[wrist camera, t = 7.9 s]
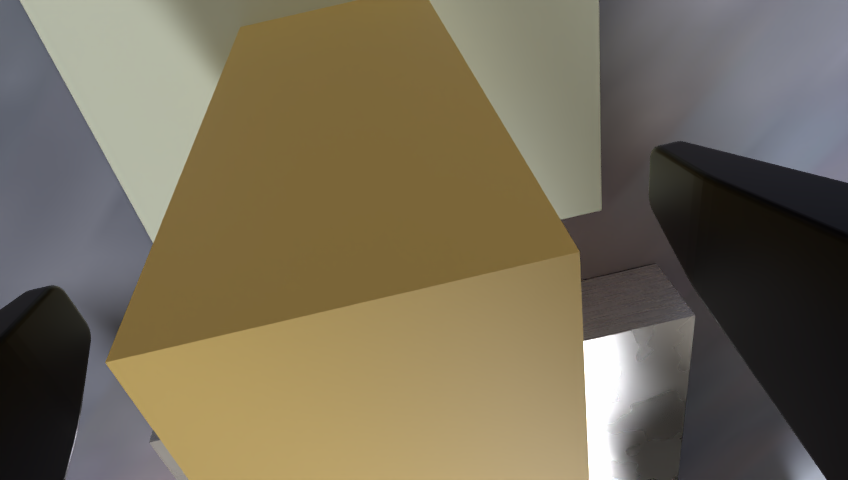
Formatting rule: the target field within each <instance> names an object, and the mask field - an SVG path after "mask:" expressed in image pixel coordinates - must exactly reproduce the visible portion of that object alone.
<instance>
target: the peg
mask: <svg viewBox="0 0 848 480" xmlns="http://www.w3.org/2000/svg"><path fill="white" fill-rule="evenodd" d="M105 363H106V364H107V366H108V367H109V368H110V370H111V371H112V373H113V374H114V375H115V377H116V378H117V380H118V381H119V382H120V384H121V385H122V387H123V388H124V390H125V391H126V392H127V394H128V395H129V397H130V398H131V399H132V401H133V402H134V404H135V405H136V406H137V408H138V409H139V411H140V412H141V413H142V415H143V416H144V418H145V419H146V420H147V422H148V423H149V425H150V426H151V427H152V429H153V430H154V432H155V433H156V435H157V436H158V437H159V439H160V440H161V442H162V443H163V444H164V446H165V447H166V449H167V450H168V451H169V453H170V454H171V456H172V457H173V458H174V460H175V461H176V463H177V464H178V465H179V467H180V468H181V470H182V471H183V473H184V474H185V475H186V477H187V478H188V480H589V457H588V433H587V410H586V386H585V363H584V339H583V315H582V292H581V268H580V251H579V250H578V248H577V246H576V245H575V243H574V241H573V240H572V238H571V236H570V235H569V233H568V231H567V230H566V228H565V226H564V225H563V223H562V221H561V220H560V218H559V216H558V215H557V213H556V211H555V210H554V208H553V206H552V205H551V203H550V201H549V200H548V198H547V196H546V195H545V193H544V191H543V190H542V188H541V186H540V185H539V183H538V181H537V180H536V178H535V176H534V175H533V173H532V171H531V170H530V168H529V166H528V165H527V163H526V161H525V160H524V158H523V156H522V155H521V153H520V151H519V150H518V148H517V146H516V145H515V143H514V141H513V140H512V138H511V136H510V134H509V133H508V131H507V129H506V128H505V126H504V124H503V123H502V121H501V119H500V118H499V116H498V114H497V113H496V111H495V109H494V108H493V106H492V104H491V103H490V101H489V99H488V98H487V96H486V94H485V93H484V91H483V89H482V88H481V86H480V84H479V83H478V81H477V79H476V78H475V76H474V74H473V73H472V71H471V69H470V68H469V66H468V64H467V63H466V61H465V59H464V58H463V56H462V54H461V53H460V51H459V49H458V48H457V46H456V44H455V43H454V41H453V39H452V38H451V36H450V34H449V33H448V31H447V29H446V28H445V26H444V24H443V23H442V21H441V19H440V18H439V16H438V14H437V13H436V11H435V9H434V8H433V6H432V4H431V3H430V1H429V0H356V1H351V2H347V3H343V4H338V5H334V6H330V7H325V8H321V9H317V10H312V11H308V12H304V13H299V14H295V15H290V16H286V17H282V18H277V19H273V20H269V21H264V22H260V23H256V24H251V25H247V26H243V27H240V29H239V31H238V34H237V36H236V39H235V41H234V44H233V46H232V49H231V51H230V54H229V56H228V59H227V61H226V64H225V66H224V69H223V71H222V73H221V76H220V78H219V81H218V83H217V86H216V88H215V91H214V93H213V96H212V98H211V101H210V103H209V106H208V108H207V111H206V113H205V116H204V118H203V121H202V123H201V126H200V128H199V131H198V133H197V136H196V138H195V141H194V143H193V146H192V148H191V151H190V153H189V156H188V158H187V161H186V163H185V166H184V168H183V171H182V173H181V175H180V178H179V180H178V183H177V185H176V188H175V190H174V193H173V195H172V198H171V200H170V203H169V205H168V208H167V210H166V213H165V215H164V218H163V220H162V223H161V225H160V228H159V230H158V233H157V235H156V238H155V240H154V243H153V245H152V248H151V250H150V253H149V255H148V258H147V260H146V263H145V265H144V268H143V270H142V273H141V275H140V277H139V280H138V282H137V285H136V287H135V290H134V292H133V295H132V297H131V300H130V302H129V305H128V307H127V310H126V312H125V315H124V317H123V320H122V322H121V325H120V327H119V330H118V332H117V335H116V337H115V340H114V342H113V345H112V347H111V350H110V352H109V355H108V357H107V360H106V362H105Z"/></svg>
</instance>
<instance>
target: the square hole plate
mask: <svg viewBox="0 0 848 480" xmlns="http://www.w3.org/2000/svg"><path fill="white" fill-rule="evenodd" d="M581 292H582V315H583V339H584V363H585V386H586V410H587V433H588V457H589V480H678V472H679V463H680V453H681V444H682V435H683V426H684V416H685V407H686V398H687V389H688V379H689V370H690V361H691V352H692V342H693V333H694V324H695V314H694V313H693V312H692V310H691V309H690V308H689V306H688V305H687V304H686V302H685V301H684V300H683V298H682V297H681V296H680V294H679V293H678V292H677V290H676V289H675V288H674V287H673V285H672V284H671V283H670V281H669V280H668V279H667V277H666V276H665V275H664V273H663V272H662V271H661V269H660V268H659V267H658V265H657V264H653V265H649V266H645V267H640V268H636V269H632V270H627V271H623V272H619V273H614V274H610V275H606V276H601V277H597V278H593V279H589V280H584V281H581ZM149 443H150V444H151V446H152V447H153V448H154V450H155V451H156V452H157V454H158V455H159V457H160V458H161V459H162V461H163V462H164V463H165V465H166V466H167V468H168V469H169V470H170V472H171V473H172V474H173V476H174V477H175V479H176V480H188V478H187V477H186V475H185V474H184V473H183V471H182V470H181V468H180V467H179V465H178V464H177V463H176V461H175V460H174V458H173V457H172V456H171V454H170V453H169V451H168V450H167V449H166V447H165V446H164V444H163V443H162V442H161V440H160V439H159V437H158V436H157V435H156V433H155V432H154V430H153V431H152V435H151V438H150V442H149Z"/></svg>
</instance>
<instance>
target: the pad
mask: <svg viewBox="0 0 848 480" xmlns="http://www.w3.org/2000/svg"><path fill="white" fill-rule="evenodd" d="M20 1H21V3H22V5H23V7H24V9H25V11H26V12H27V14H28V16H29V18H30V20H31V22H32V23H33V25H34V27H35V29H36V31H37V32H38V34H39V36H40V38H41V40H42V42H43V43H44V45H45V47H46V49H47V51H48V52H49V54H50V56H51V58H52V60H53V62H54V63H55V65H56V67H57V69H58V71H59V72H60V74H61V76H62V78H63V80H64V82H65V83H66V85H67V87H68V89H69V91H70V93H71V94H72V96H73V98H74V100H75V102H76V103H77V105H78V107H79V109H80V111H81V113H82V114H83V116H84V118H85V120H86V122H87V123H88V125H89V127H90V129H91V131H92V133H93V134H94V136H95V138H96V140H97V142H98V144H99V145H100V147H101V149H102V151H103V153H104V154H105V156H106V158H107V160H108V162H109V164H110V165H111V167H112V169H113V171H114V173H115V174H116V176H117V178H118V180H119V182H120V184H121V185H122V187H123V189H124V191H125V193H126V195H127V196H128V198H129V200H130V202H131V204H132V205H133V207H134V209H135V211H136V213H137V215H138V216H139V218H140V220H141V222H142V224H143V225H144V227H145V229H146V231H147V233H148V235H149V236H150V238H151V240H152V242H153V243H154V240H155V238H156V235H157V233H158V230H159V228H160V225H161V223H162V220H163V218H164V215H165V213H166V210H167V208H168V205H169V203H170V200H171V198H172V195H173V193H174V190H175V188H176V185H177V183H178V180H179V178H180V175H181V173H182V171H183V168H184V166H185V163H186V161H187V158H188V156H189V153H190V151H191V148H192V146H193V143H194V141H195V138H196V136H197V133H198V131H199V128H200V126H201V123H202V121H203V118H204V116H205V113H206V111H207V108H208V106H209V103H210V101H211V98H212V96H213V93H214V91H215V88H216V86H217V83H218V81H219V78H220V76H221V73H222V71H223V69H224V66H225V64H226V61H227V59H228V56H229V54H230V51H231V49H232V46H233V44H234V41H235V39H236V36H237V34H238V31H239V29H240V27H243V26H247V25H251V24H256V23H260V22H264V21H269V20H273V19H277V18H282V17H286V16H290V15H295V14H299V13H304V12H308V11H312V10H317V9H321V8H325V7H330V6H334V5H338V4H343V3H347V2H351V1H356V0H20ZM429 1H430V3H431V4H432V6H433V8H434V9H435V11H436V13H437V14H438V16H439V18H440V19H441V21H442V23H443V24H444V26H445V28H446V29H447V31H448V33H449V34H450V36H451V38H452V39H453V41H454V43H455V44H456V46H457V48H458V49H459V51H460V53H461V54H462V56H463V58H464V59H465V61H466V63H467V64H468V66H469V68H470V69H471V71H472V73H473V74H474V76H475V78H476V79H477V81H478V83H479V84H480V86H481V88H482V89H483V91H484V93H485V94H486V96H487V98H488V99H489V101H490V103H491V104H492V106H493V108H494V109H495V111H496V113H497V114H498V116H499V118H500V119H501V121H502V123H503V124H504V126H505V128H506V129H507V131H508V133H509V134H510V136H511V138H512V140H513V141H514V143H515V145H516V146H517V148H518V150H519V151H520V153H521V155H522V156H523V158H524V160H525V161H526V163H527V165H528V166H529V168H530V170H531V171H532V173H533V175H534V176H535V178H536V180H537V181H538V183H539V185H540V186H541V188H542V190H543V191H544V193H545V195H546V196H547V198H548V200H549V201H550V203H551V205H552V206H553V208H554V210H555V211H556V213H557V215H558V216H559V218H560V220H562V219H566V218H570V217H575V216H579V215H583V214H588V213H592V212H596V211H601V210H602V201H601V122H600V44H599V0H429Z"/></svg>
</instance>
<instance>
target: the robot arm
mask: <svg viewBox="0 0 848 480" xmlns="http://www.w3.org/2000/svg"><path fill="white" fill-rule="evenodd" d="M649 201H650V205H651V208H652V210H653V212H654V214H655V216H656V218H657V220H658V222H659V224H660V226H661V228H662V230H663V232H664V233H665V235H666V237H667V239H668V241H669V243H670V245H671V247H672V249H673V251H674V253H675V254H676V256H677V258H678V260H679V262H680V264H681V266H682V268H683V270H684V272H685V274H686V275H687V277H688V279H689V281H690V282H691V284H692V286H693V287H694V289H695V290H696V292H697V294H698V295H699V297H700V298H701V300H702V301H703V302H704V304H705V305H706V307H707V308H708V310H709V311H710V312H711V314H712V315H713V317H714V318H715V320H716V321H717V323H718V324H719V325H720V327H721V328H722V330H723V331H724V333H725V334H726V335H727V337H728V338H729V340H730V341H731V343H732V344H733V346H734V347H735V348H736V350H737V351H738V353H739V354H740V356H741V357H742V358H743V360H744V361H745V363H746V364H747V366H748V367H749V369H750V370H751V371H752V373H753V374H754V376H755V377H756V379H757V380H758V381H759V383H760V384H761V386H762V387H763V389H764V390H765V392H766V393H767V394H768V396H769V397H770V399H771V400H772V402H773V403H774V404H775V406H776V407H777V409H778V410H779V412H780V413H781V415H782V416H783V417H784V419H785V420H786V422H787V423H788V425H789V426H790V427H791V429H792V430H793V432H794V433H795V435H796V436H797V438H798V439H799V440H800V442H801V443H802V445H803V446H804V448H805V449H806V451H807V452H808V453H809V455H810V456H811V458H812V459H813V461H814V462H815V463H816V465H817V466H818V468H819V469H820V471H821V472H822V474H823V475H824V476H825V478H826V479H827V480H848V183H846V182H842V181H838V180H834V179H830V178H826V177H822V176H818V175H814V174H810V173H806V172H802V171H798V170H794V169H790V168H786V167H782V166H779V165H775V164H771V163H767V162H763V161H759V160H755V159H751V158H747V157H743V156H739V155H735V154H731V153H727V152H723V151H719V150H715V149H711V148H707V147H703V146H699V145H695V144H691V143H687V142H683V141H677V142H673V143H668V144H664V145H660V146H657V147H655V148H654V149H653V150H652V153H651V156H650V173H649ZM90 343H91V334H90V329H89V327H88V325H87V323H86V321H85V320H84V318H83V317H82V315H81V314H80V313H79V311H78V310H77V308H76V307H75V305H74V304H73V302H72V301H71V300H70V298H69V297H68V295H67V294H66V293H65V291H64V290H63V289H61V288H60V287H58V286H54V285H51V286H46V287H42V288H37V289H33V290H29V291H27V292H25V293H23V294H22V295H20V296H19V297H18V298H16V299H15V300H13V301H12V302H11V303H9V304H8V305H6V306H5V307H3V308H2V309H1V310H0V480H65V479H66V475H67V471H68V467H69V464H70V460H71V456H72V452H73V448H74V444H75V440H76V436H77V431H78V426H79V420H80V415H81V408H82V401H83V393H84V386H85V379H86V372H87V364H88V357H89V350H90Z"/></svg>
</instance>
